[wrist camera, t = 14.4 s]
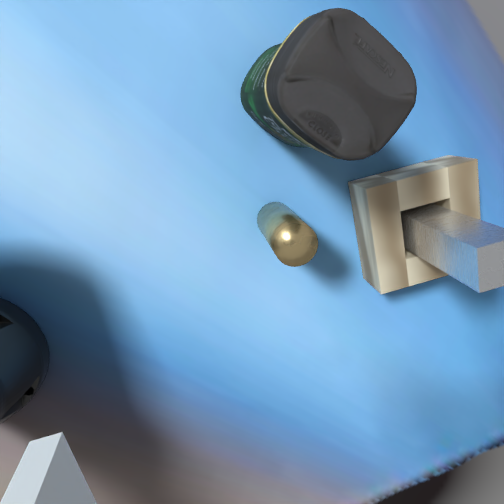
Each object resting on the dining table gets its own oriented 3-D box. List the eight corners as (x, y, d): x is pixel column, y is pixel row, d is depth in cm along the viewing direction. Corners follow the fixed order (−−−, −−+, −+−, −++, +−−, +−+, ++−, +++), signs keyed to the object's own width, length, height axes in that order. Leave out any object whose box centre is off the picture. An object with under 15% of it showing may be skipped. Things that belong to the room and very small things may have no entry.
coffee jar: (226, 103, 41) (252, 92, 24) (272, 34, 40) (335, -33, 22) (300, 159, 44) (371, 185, 27) (345, 96, 43) (451, 79, 25)
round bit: (261, 240, 46) (279, 271, 37) (253, 207, 45) (269, 230, 36) (295, 231, 47) (321, 259, 37) (288, 197, 45) (313, 218, 36)
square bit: (397, 244, 47) (479, 292, 33) (393, 210, 45) (476, 248, 32) (430, 234, 47) (524, 279, 34) (427, 201, 46) (523, 234, 32)
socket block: (363, 277, 50) (381, 294, 45) (348, 181, 46) (366, 189, 41) (455, 251, 50) (482, 265, 46) (448, 155, 46) (477, 159, 42)
